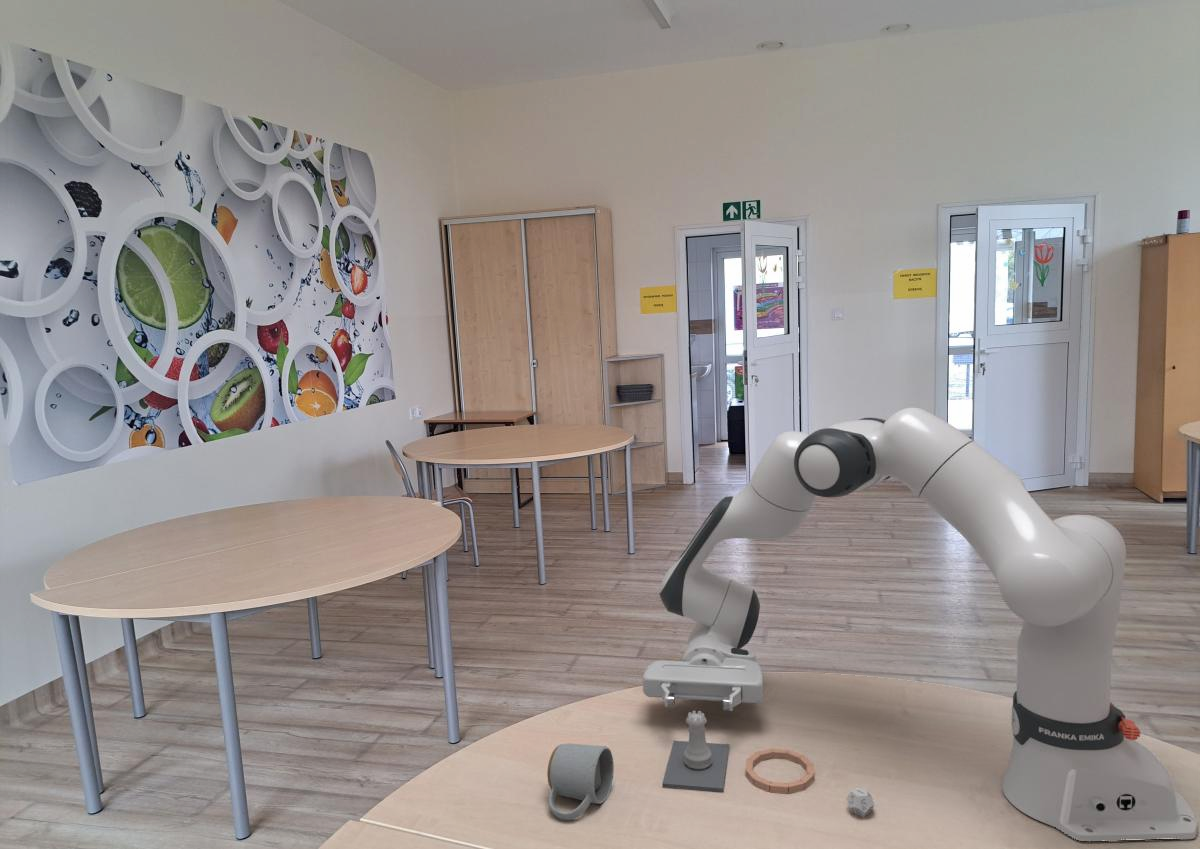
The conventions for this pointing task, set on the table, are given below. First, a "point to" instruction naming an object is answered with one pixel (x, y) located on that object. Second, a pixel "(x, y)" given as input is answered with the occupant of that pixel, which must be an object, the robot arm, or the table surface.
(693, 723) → the rook chess piece
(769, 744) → the table surface
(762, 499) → the robot arm
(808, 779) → the terracotta ring
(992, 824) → the table surface
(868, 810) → the game die
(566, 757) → the ceramic mug
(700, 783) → the charcoal mat
